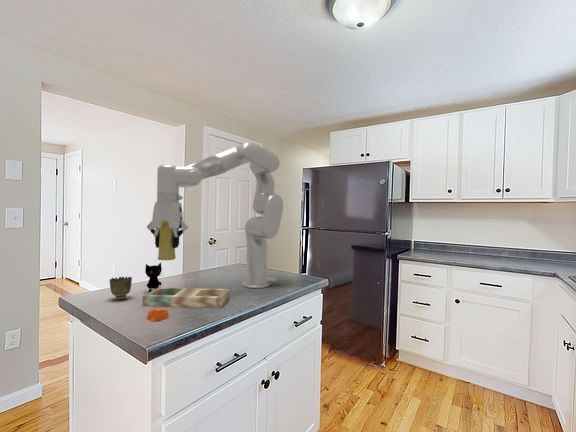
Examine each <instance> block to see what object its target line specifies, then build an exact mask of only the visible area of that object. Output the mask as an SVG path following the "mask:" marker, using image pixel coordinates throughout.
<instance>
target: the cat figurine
mask: <svg viewBox="0 0 576 432" xmlns="http://www.w3.org/2000/svg"><path fill="white" fill-rule="evenodd" d="M162 269H163V268H162V262H159V264H157V265H155V264H154V265H149V264H147V263H146V264H145V271H144V272H145V275H146V278H149V280H148V282H147V284H146V287H147V288H148V292H147V293H149V292H151V291H153V290H155V289H156V288H158V287H161V286H162V284H163V283H162V282H161V281H160V280H159V278H158V277H159V276H161V277H162V276H164V274H163V273H165V272H162Z"/></svg>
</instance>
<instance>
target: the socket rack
mask: <svg viewBox="0 0 576 432" xmlns="http://www.w3.org/2000/svg"><path fill="white" fill-rule="evenodd" d="M229 299H230V288H229V289H228V288H205V287H204V288H201V287H199V288H197V287H163V286H162V287H161V286H159V287H158V288H156V289H155V290H154V289H152V291H151V292H149V293H148V292H147V293H146V294H144V295H142V307H166V308H167V307H169V308H170V307H172V308H174V307H175V308H205V309H206V308H207V309H211V308H212V309H213V308H215V309H222V308H223V307H224V305H225V304H226V303H227V302H228V300H229Z"/></svg>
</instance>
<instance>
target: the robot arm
mask: <svg viewBox="0 0 576 432" xmlns="http://www.w3.org/2000/svg"><path fill="white" fill-rule="evenodd" d="M280 163H281V162H280V159H279V156H278V155H277V154H276V153H274V152H273V151H270V150H268V149H266V147H263V146H261V145H259V144H257V143H255V142H251V141H247V142H244V143H239V144H237V145H234V146H232V147H229V148H227V149H224V150H222V151H219V152H217V153H214V154H212V155H209V156H207V157H206V158H203V159H202V160H199V161H196V162H194V163H191V164H189V165H186V166H177V165H172V164H161V165H159V166H158V167H157V178H156V179H157V180H156V181H157V182H156V183H157V184H156V202H154V205H153V209H152V210H153V212H152V217H151V218H152V219H151V221H150V222H149V223H148V224H147V225H146V229H147V230H148V231H149V232H150V233H151V234H152V235H153V237H154V245H155V248H158V249H159V231H160V228H161V224H162V221H168V222H169V229H172V230H173V233H174V237H173V248H175V249H177V248H179V246H180V237H181V236H182V235H183V233H185V232H186V231H188V229H189V226H188V225H187V224H186V223H185V222H184V212H183V205H182V203H181V202H180V200H183V195H180V188H182V189H183V188H184V189H185V188H189V187H190V188H191V187H195V186H198V185H199V184H200V183H201V182H202V181H203V180H205V179H208V178H211V177H216V176H220V175H223V174H226V173H227V172H229V171H231V170H234V169H236V168H237V167H240V166H242V165H244V164H245V165H246V164H249V169H250V172H252V174H253V175H254V178H255V179H256V188H255V192H254V197H253V200H252V201H253V202H252V211H254V213H255V214H258V215H262V216H253V217H250V218H248V219H247V221H246V222H245V224H244V225H245V226H244V232H245V240H246V261H245V262H246V265H245V266H246V267H245V268H246V269H245V270H246V271H245V272H246V273H245V274H246V275H245V279H246V280H244V281H243V282H242V286H243V288H244V287H245V288H248V289H263V288H267V287H269V286H271V283H277V277H274V276H271V277H270V276H269V273H268V241H267V240H268V239H269V240H270V239H274V238H275V237H276V236H277V234H278V233H279V230H280V227H281V221H282V215H283V213H284V202H283V199H282V197H281V196H280V195H279V194H277V193H275V185H276V183H275V179H274V177H273V175H272V173H274V172H276V171H277V170H278V169H279V167H280Z"/></svg>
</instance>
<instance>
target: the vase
mask: <svg viewBox="0 0 576 432" xmlns="http://www.w3.org/2000/svg"><path fill="white" fill-rule="evenodd" d="M173 237H174V233H173V230H172V229H169V222H168V221H162V224H161V228H160V231H159V247H158V257H157V260H158V261H172V260H176V248H173Z"/></svg>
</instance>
